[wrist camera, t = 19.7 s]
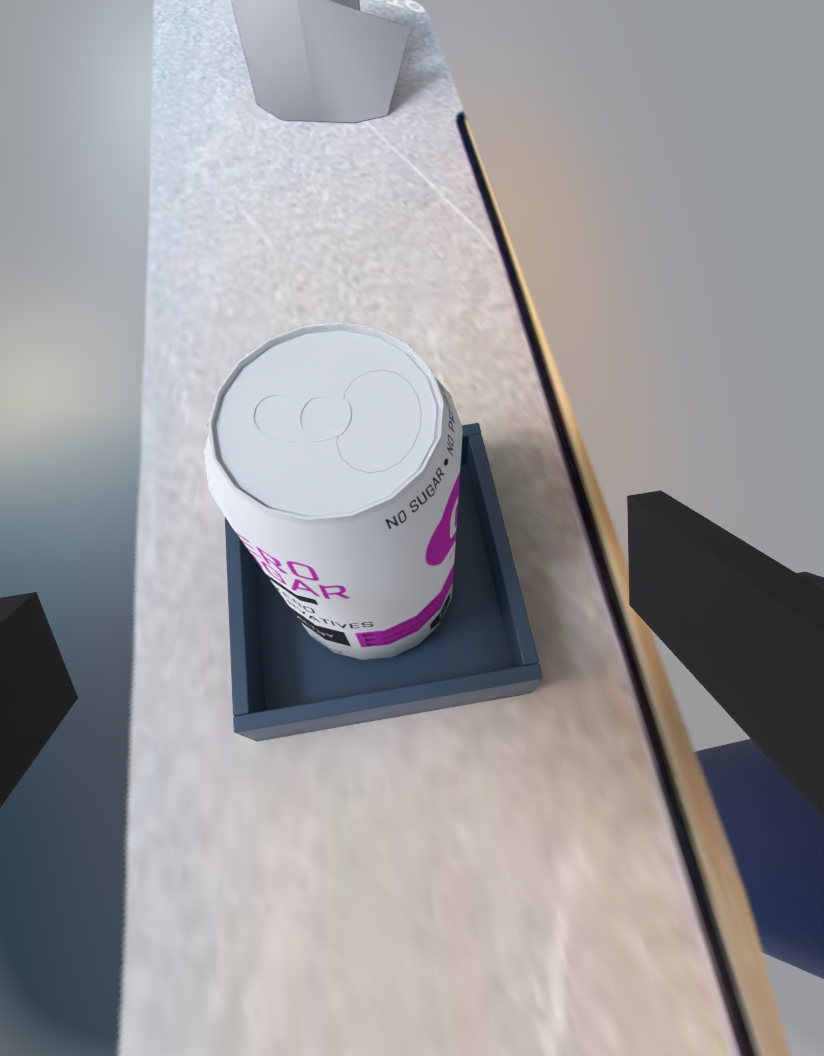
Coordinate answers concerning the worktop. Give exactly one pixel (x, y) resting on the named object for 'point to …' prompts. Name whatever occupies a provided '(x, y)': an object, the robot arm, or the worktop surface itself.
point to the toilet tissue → (320, 58)
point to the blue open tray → (395, 682)
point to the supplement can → (342, 482)
